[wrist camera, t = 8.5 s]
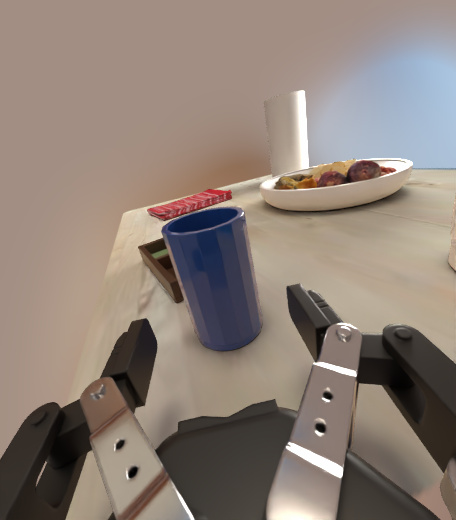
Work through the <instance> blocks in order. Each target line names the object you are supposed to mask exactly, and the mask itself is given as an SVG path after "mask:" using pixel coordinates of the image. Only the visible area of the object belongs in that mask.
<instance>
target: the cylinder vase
mask: <svg viewBox="0 0 456 520" xmlns="http://www.w3.org/2000/svg"><path fill="white" fill-rule="evenodd" d="M264 107H265V116H266V125H267V133H268V142H269V151H270V160H271V168H272V178H273V177H276V176H279V175H282V174H285V173H289V172H293V171H297V170H301V169H306V168H308V148H307V129H306V109H305V91H296V92H291V93H287V94H283V95H279V96H276V97H273V98H270V99H268V100H266V101H264Z"/></svg>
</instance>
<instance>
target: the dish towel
mask: <svg viewBox="0 0 456 520" xmlns="http://www.w3.org/2000/svg"><path fill="white" fill-rule="evenodd" d="M231 193H232V192H231V190H229V191H221V190H212V189H208V190H206V191H204V192H201V193H199V194H196V195H193V196H191V197H187V198H184V199H181V200H178V201H175V202H172V203H169V204H166V205H162V206H158V207H153V208H150V209H148V210H147V211H148V213H149V214H151V215H154V216H156V217H158V218H160V219H163V220H167V219H170V218H174V217H176V216H180V215H182V214H186V213H189V212H192V211H195V210H198V209H201V208H204V207H208V206H210V205H213V204H217V203H220V202H223V201H226V200H229V199H232V197H231Z"/></svg>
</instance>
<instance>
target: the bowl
mask: <svg viewBox="0 0 456 520" xmlns="http://www.w3.org/2000/svg"><path fill="white" fill-rule="evenodd" d="M412 165H413V163H412V162H411V161H408V160H404V159H368V160H357V161H356V159H353V160H347V161H346V162H334V163H332V164H327V165H324V164H321V165H319V166H316V167H310V168H306V169H301V170H297V171H293V172H289V173H285V174H282V175H279V176H276V177H273V178H270V179H268V180H266V181H264V182H263V183H261V184H260V191H261V195H262V197H263V198H264V200H265V201H266V202H267V203H269V204H270V205H272V206H274V207H277V208H280V209H285V210H293V211H321V210H332V209H340V208H347V207H352V206H357V205H362V204H366V203H370V202H373V201H376V200H379V199H382V198H384V197H387V196H389V195H391V194H393V193H394V192H396V191H397V190H399V189H400V188H401V187H402V186H403V185H404V184H405V183H406V182H407V180H408V179H409V177H410V175H411V172H412Z"/></svg>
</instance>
